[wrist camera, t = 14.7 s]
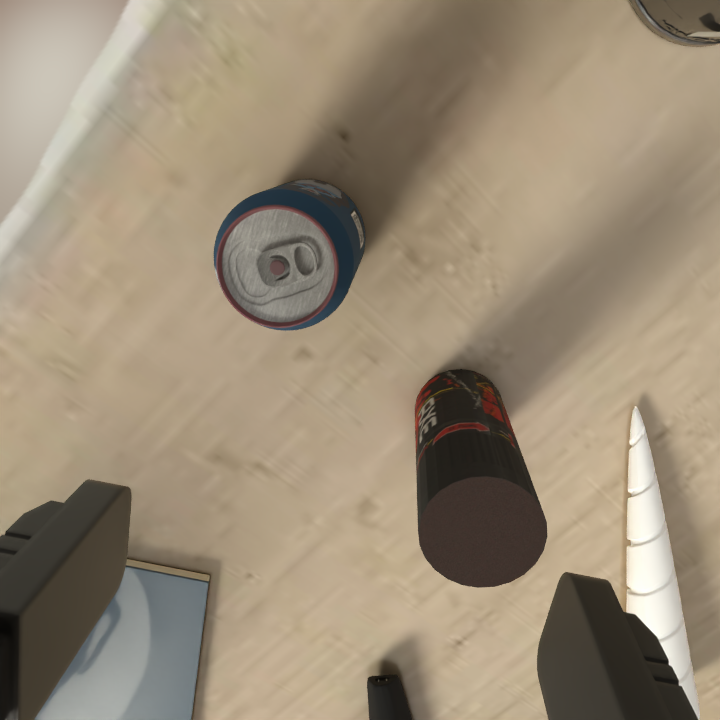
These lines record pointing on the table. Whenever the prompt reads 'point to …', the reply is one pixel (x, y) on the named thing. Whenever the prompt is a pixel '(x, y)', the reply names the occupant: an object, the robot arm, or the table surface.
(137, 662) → the notebook
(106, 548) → the robot arm
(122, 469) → the table surface
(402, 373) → the table surface
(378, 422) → the table surface
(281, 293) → the soda can
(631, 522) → the unicorn horn
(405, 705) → the electric trimmer
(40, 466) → the table surface
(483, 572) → the deodorant
